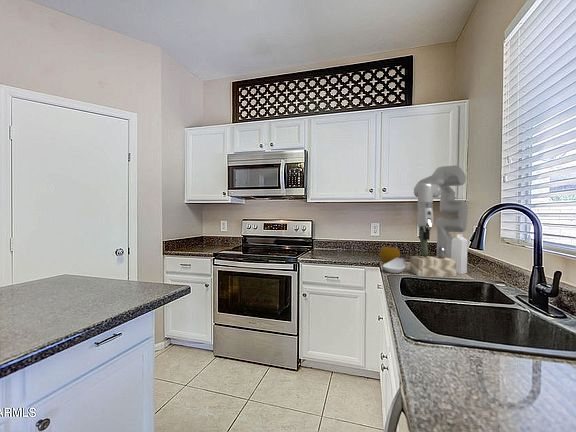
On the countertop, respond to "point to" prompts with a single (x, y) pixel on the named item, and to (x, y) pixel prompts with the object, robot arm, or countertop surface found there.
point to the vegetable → (423, 244)
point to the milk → (460, 253)
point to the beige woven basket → (433, 265)
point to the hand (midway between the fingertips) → (424, 238)
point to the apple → (389, 254)
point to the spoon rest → (395, 265)
